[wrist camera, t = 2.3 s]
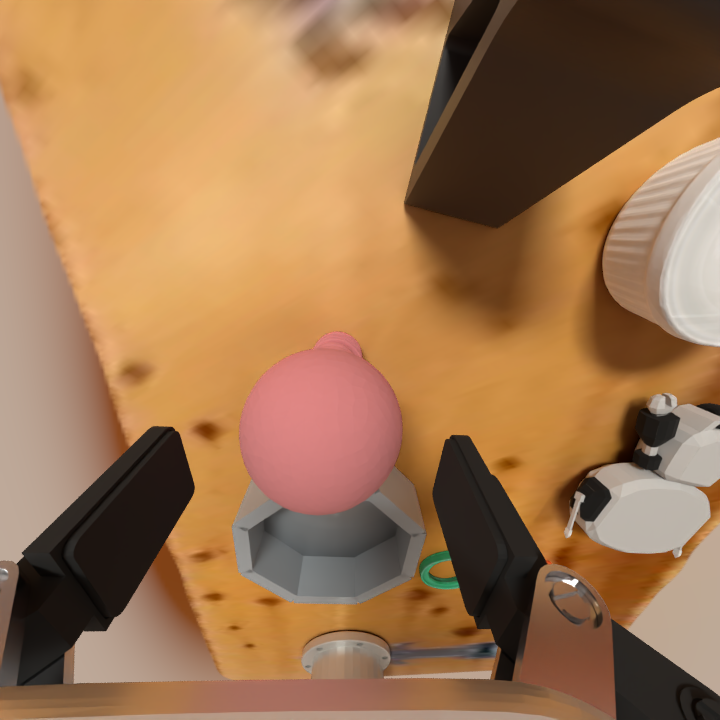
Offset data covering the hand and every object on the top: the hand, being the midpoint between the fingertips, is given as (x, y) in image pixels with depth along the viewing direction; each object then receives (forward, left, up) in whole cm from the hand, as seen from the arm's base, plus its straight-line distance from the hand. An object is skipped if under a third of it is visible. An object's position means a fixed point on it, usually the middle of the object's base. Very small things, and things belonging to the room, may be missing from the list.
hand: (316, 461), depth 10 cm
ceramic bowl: (-12, +11, -11) cm, 20 cm away
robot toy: (-26, -14, -12) cm, 32 cm away
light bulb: (0, 0, -11) cm, 11 cm away
